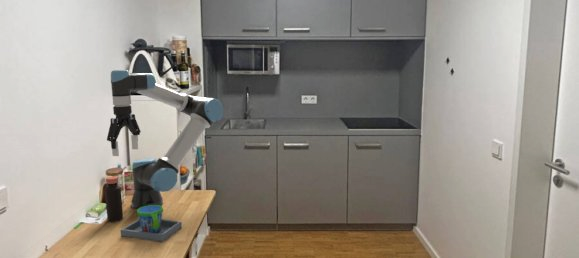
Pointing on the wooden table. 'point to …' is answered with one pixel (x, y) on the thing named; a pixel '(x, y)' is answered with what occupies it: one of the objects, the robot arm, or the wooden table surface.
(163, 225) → the tray
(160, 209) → the snack cup
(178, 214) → the wooden table surface
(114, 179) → the bottle
